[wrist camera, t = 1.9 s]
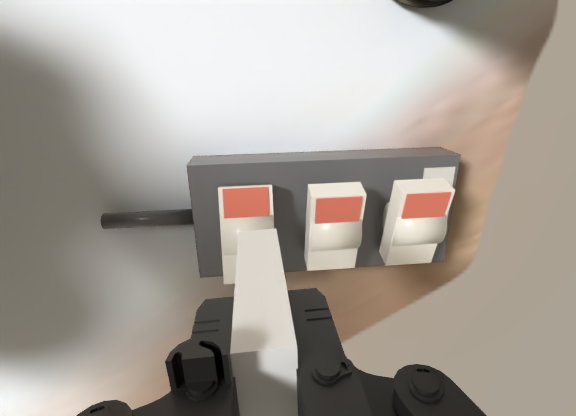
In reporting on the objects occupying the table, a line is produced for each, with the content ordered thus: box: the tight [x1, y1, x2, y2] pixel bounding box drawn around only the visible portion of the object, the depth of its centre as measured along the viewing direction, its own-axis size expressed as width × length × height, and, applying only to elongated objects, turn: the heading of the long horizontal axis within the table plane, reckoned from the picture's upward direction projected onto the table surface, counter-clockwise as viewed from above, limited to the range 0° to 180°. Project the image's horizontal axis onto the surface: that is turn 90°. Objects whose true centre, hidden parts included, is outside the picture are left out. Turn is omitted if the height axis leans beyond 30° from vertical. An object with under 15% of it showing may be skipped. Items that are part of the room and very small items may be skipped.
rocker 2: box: [304, 182, 367, 271], centre depth 25 cm, size 4×7×3 cm, turn 1°
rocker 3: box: [379, 178, 455, 266], centre depth 26 cm, size 4×7×3 cm, turn 1°
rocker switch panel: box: [101, 147, 460, 278], centre depth 28 cm, size 27×9×3 cm, turn 91°
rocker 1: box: [218, 184, 274, 284], centre depth 25 cm, size 4×7×3 cm, turn 1°
